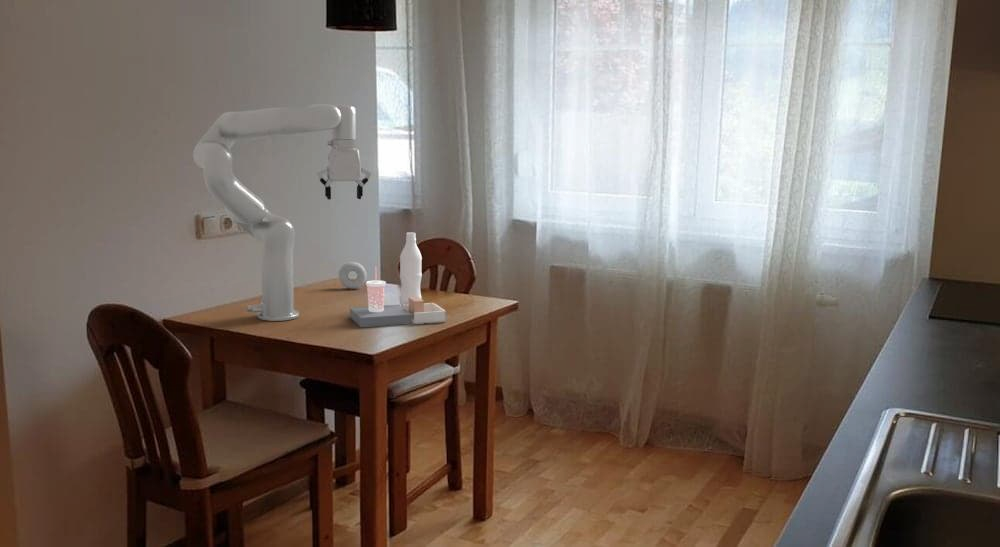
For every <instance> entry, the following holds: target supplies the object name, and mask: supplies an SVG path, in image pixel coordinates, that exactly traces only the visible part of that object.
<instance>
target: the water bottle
mask: <svg viewBox="0 0 1000 547" xmlns="http://www.w3.org/2000/svg"><path fill="white" fill-rule="evenodd" d="M405 241H406V242H405V245H404V247H403V249H402V251H401V252H400V256H399V260H400V263H399V267H400V268H399V278H400V284H401V285H400V287H401V289H400V295H399V303H400V304H399V305H400V306H402V307H403V305H409V297H419V298H420V299H422V298H423V297H422V294H421V292H422V291H421V282H422V276H423V273H422V260H423V257H422V254H421V251H420V249H419V247H418V246H417V242H416V241H417V237H416V232H413V231H412V232H411V231H409V232H406V237H405ZM422 300H423V299H422Z"/></svg>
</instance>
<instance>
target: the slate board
mask: <svg viewBox="0 0 1000 547" xmlns="http://www.w3.org/2000/svg"><path fill="white" fill-rule="evenodd" d="M349 318H350V319H351V318H352V319H351V320H352V321H353V322H355V324H357V325H358V326H359V328H362V327H363V328H371V327H373V328H374V327H385V326H386V325H389V326H400V325H399V324H402V325H412V324H413V323H412V314H411V313H410V312H409V311H407V310H406V309H405V308H403V307H402V306H401V304H390V305H389V304H388V305H385V304H384V310H383V311H382V312H370V311H369V307H368V306H360V307H359V306H358V307H355V306H354V307H349ZM386 327H387V326H386Z"/></svg>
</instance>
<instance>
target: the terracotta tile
mask: <svg viewBox="0 0 1000 547" xmlns="http://www.w3.org/2000/svg"><path fill="white" fill-rule="evenodd" d="M424 303H425V300H423V299H420V298H419V297H409V312H410V313H411V314H412V319H413V320H414V313H420V312H424Z"/></svg>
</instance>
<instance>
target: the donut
mask: <svg viewBox="0 0 1000 547" xmlns="http://www.w3.org/2000/svg"><path fill="white" fill-rule="evenodd" d="M350 272H355V273H356V278H355V279H351V278H350V277H349V273H350ZM367 277H368V274H367V271H366V269H365V267H364V266H363V265H362V264H360V263H359V262H356V261H349V262H346V263H343V265H342V266H341V267H340V269H339V270H338V279H339V281H340V284H341V285H342V286H344V287H345V288H347V289H349V290H357V289H359V288H360V287H362V286H363V285H364V284H366V282H367Z"/></svg>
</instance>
